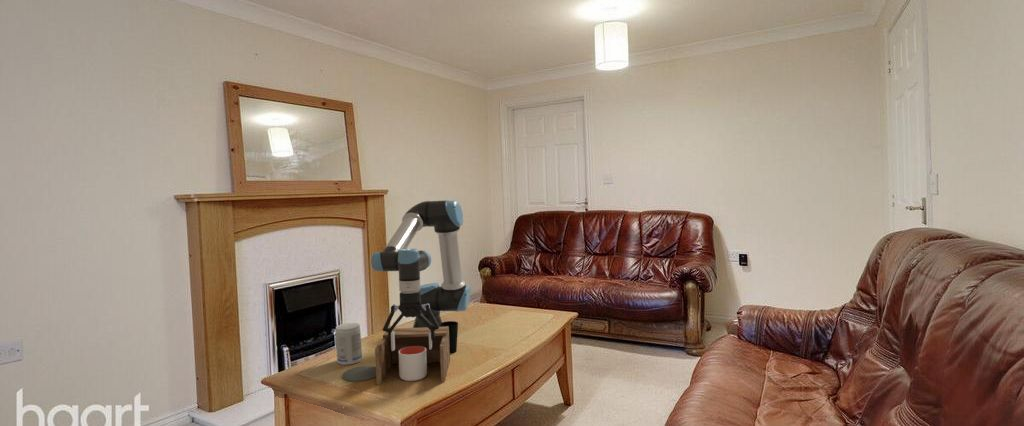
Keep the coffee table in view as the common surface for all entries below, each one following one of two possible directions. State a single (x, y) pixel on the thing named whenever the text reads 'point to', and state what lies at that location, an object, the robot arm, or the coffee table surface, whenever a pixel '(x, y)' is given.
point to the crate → (413, 338)
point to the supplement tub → (348, 343)
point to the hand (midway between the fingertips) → (412, 349)
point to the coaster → (360, 373)
